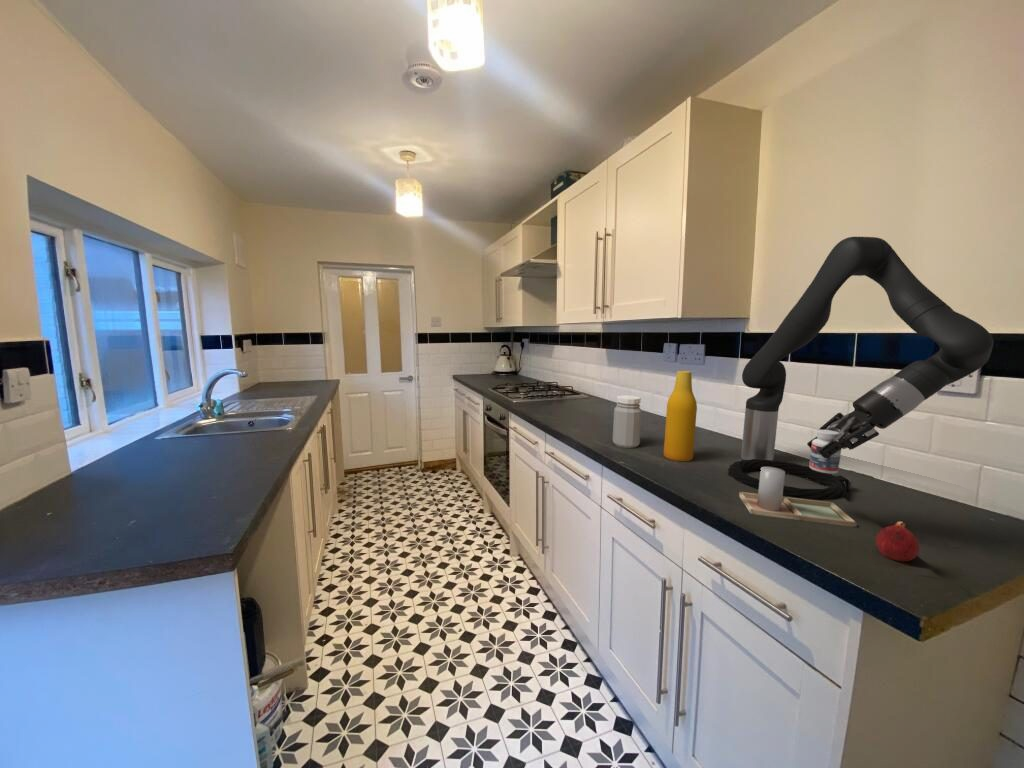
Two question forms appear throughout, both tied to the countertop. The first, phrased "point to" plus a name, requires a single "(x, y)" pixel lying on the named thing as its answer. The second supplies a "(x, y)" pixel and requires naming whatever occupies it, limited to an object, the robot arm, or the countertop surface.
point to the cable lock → (834, 483)
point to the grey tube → (771, 488)
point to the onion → (897, 543)
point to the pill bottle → (817, 459)
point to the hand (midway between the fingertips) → (816, 451)
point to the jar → (627, 421)
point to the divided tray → (801, 510)
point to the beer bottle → (681, 420)
